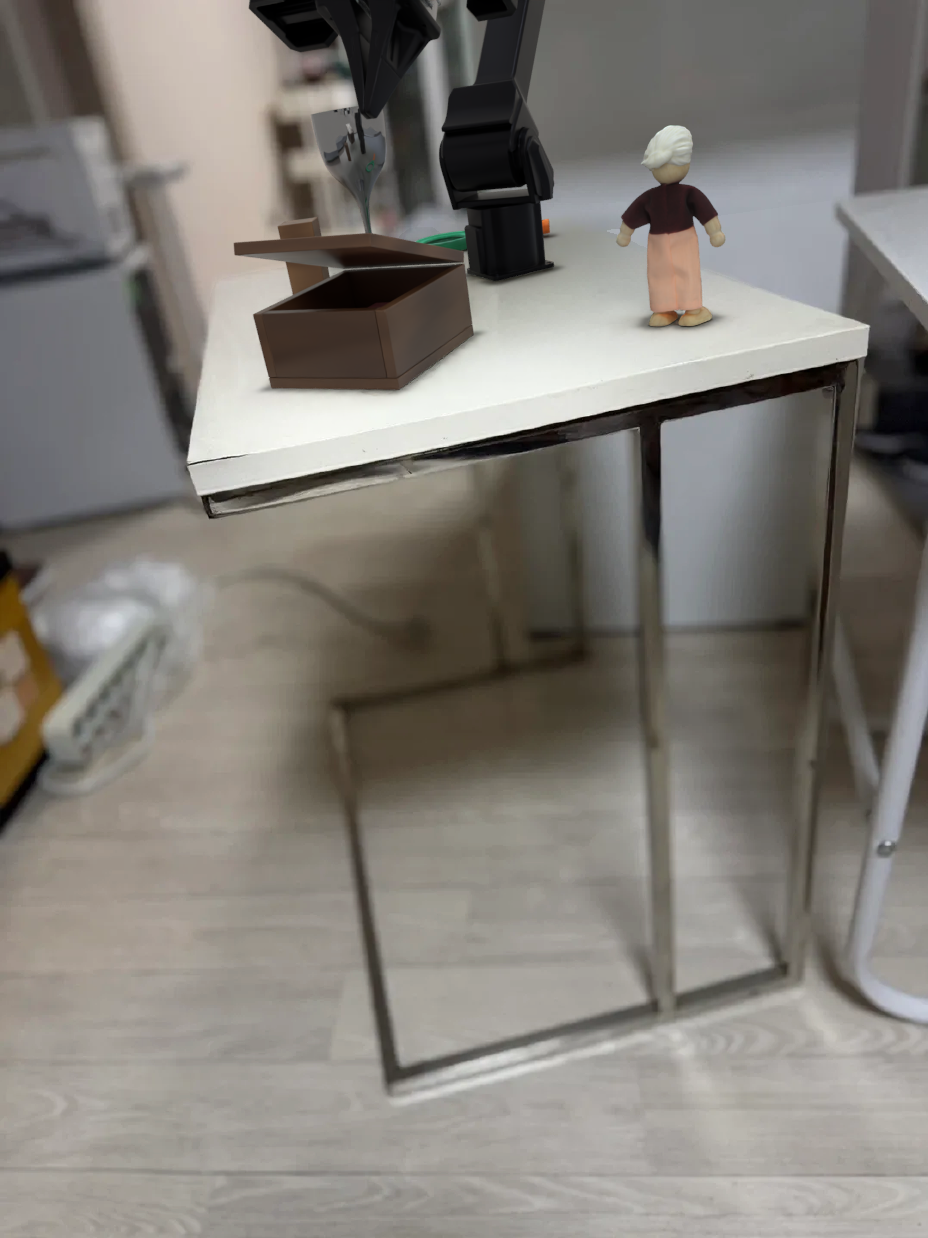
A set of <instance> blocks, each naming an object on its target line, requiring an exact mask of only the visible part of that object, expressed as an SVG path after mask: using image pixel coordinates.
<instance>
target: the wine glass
mask: <svg viewBox="0 0 928 1238" xmlns="http://www.w3.org/2000/svg"><path fill="white" fill-rule="evenodd" d="M384 108H385V107H384ZM384 108H383V109H382V111H381V112H380V114H379V116H378V117H377V118H375V119H366V118H365V117H364V116H363V115H362V114H361V113H360V111H359V106H358V105H355V106H349V107H342V108H336V109H331V110H326V111H320V112H316V113H311V114H310V121H311V127H312V131H313V136H314V139H315V143H316V146H317V149H318V152H319V154H320V158H321V160H322V162H323V164H324V166H325V168H326V170H327V171H328V173H329V174H330V175H331V176H332V177H333V178H334V179H335V180H336V181H337V182H339V184H340V185H342V186H343V188H345V189H346V190H347V191H348V192H349V193H350V195H351V196H352V197H353V199H354V201H355V202H356V205H357V207H358V210H359V213H360V216H361V220H362V224H363V229H364V233H373V231H372V224H371V215H370V213H371V212H370V200H371V194H372V192H373V188H374V186H375V185H376V182H377V180H378V178H379V177H380V174H381V172H382V170H383V168H384V166H385V163H386V159H387V149H388V137H387V136H388V134H387V133H388V131H387V121H386V115H385V109H384Z"/></svg>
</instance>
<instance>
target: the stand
mask: <svg viewBox="0 0 928 1238" xmlns="http://www.w3.org/2000/svg"><path fill="white" fill-rule="evenodd" d="M277 231H278V235H279V239H291V238H305V237H319V236H322V232H321V226H320V221H319V217H318V216H314V217H309V218H300V219H293V220H286V221H283V222H281V223H280V224H279V225H277ZM285 267H286V270H287V275H288V279H289V283H290V284H289V285H290V289H291V291H292V292H291V293H292V295H294V294H296V293H298V292H300V291H302V290H304V289H306V288H308V287H311V286H313V285H315V284H317V283H319V282H321V281H323V280H325V279H327V278H329V277H331V276H330V270H329V267H324V266H316V265H308V264H300V263H292V262H285Z"/></svg>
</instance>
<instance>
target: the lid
mask: <svg viewBox="0 0 928 1238" xmlns="http://www.w3.org/2000/svg"><path fill="white" fill-rule="evenodd" d="M233 252H234V253H233V254H234V256H236V257H244V258H253V259H260V260H261V259H262V260H269V261H276V262H284V263H286V262H292V263H300V264H308V265H316V266H324V267H328V268H333V269H341V270H353V269H370V268H389V267H408V266H427V265H446V264H464V263H465V250H461V251H460V250H455V249H450V248H445V247H439V246H434V245H429V244H424V243H419V242H416V241H413V240H410V239H409V240H408V239H404V238H398V237H393V236H388V235H383V234H378V233H373V232H372V233H365V232H362V233H361V232H360V233H348V234H334V235H321V236H319V237H305V238H291V239H280V238H277V239H266V240H265V239H264V240H251V241H237V242H236V241H235V242H233Z"/></svg>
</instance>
